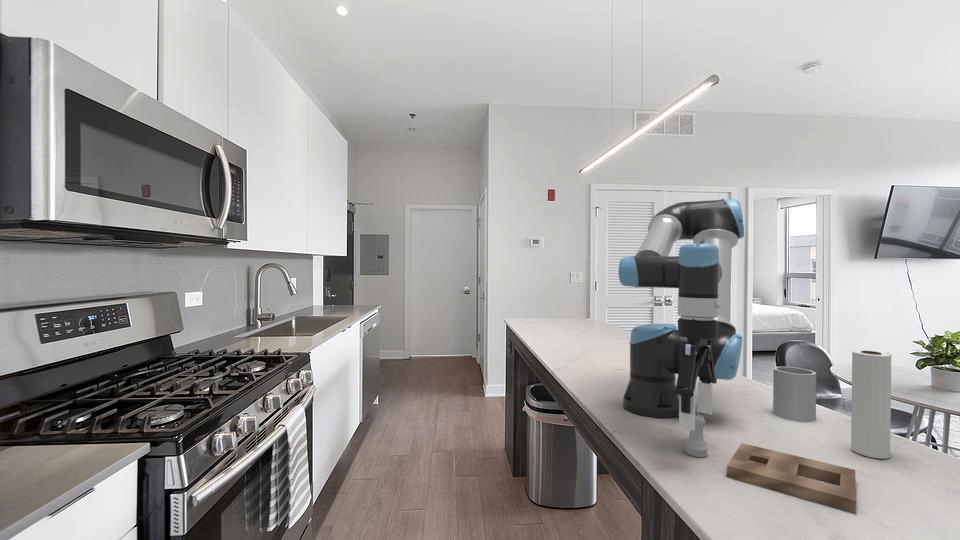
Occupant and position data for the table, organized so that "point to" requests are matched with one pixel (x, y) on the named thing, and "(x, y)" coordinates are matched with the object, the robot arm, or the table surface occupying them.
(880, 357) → the paper towel roll
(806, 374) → the cup
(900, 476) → the table surface
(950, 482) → the table surface
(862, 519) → the table surface
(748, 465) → the socket board
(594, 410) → the table surface
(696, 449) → the rook chess piece
